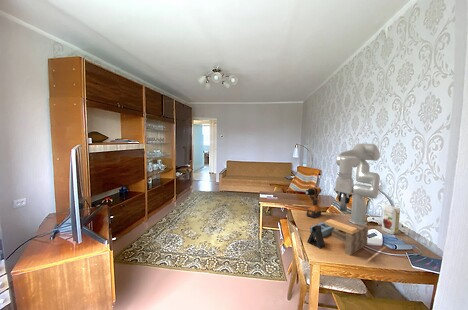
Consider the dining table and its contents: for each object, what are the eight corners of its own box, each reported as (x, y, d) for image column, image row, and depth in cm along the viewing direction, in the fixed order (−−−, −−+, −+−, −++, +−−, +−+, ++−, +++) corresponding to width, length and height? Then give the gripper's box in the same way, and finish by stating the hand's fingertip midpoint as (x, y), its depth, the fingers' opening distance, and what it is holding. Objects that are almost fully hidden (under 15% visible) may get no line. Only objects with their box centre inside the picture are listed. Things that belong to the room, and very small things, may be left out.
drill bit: (341, 209, 135) (342, 191, 134) (347, 210, 131) (348, 193, 130) (338, 210, 132) (339, 192, 131) (344, 212, 129) (345, 194, 128)
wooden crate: (339, 233, 140) (340, 216, 138) (367, 245, 125) (369, 225, 124) (320, 242, 126) (321, 223, 125) (350, 256, 112) (351, 235, 111)
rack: (322, 228, 148) (322, 221, 147) (334, 233, 140) (334, 226, 140) (309, 233, 139) (310, 226, 138) (321, 239, 131) (322, 232, 131)
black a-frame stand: (325, 245, 123) (326, 227, 122) (320, 248, 120) (321, 229, 119) (311, 239, 130) (312, 222, 129) (306, 242, 127) (307, 224, 126)
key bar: (330, 222, 127) (330, 219, 127) (356, 231, 114) (357, 228, 114) (325, 224, 124) (325, 221, 124) (351, 234, 111) (352, 231, 111)
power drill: (309, 220, 162) (311, 190, 160) (301, 217, 168) (303, 189, 166) (322, 214, 175) (324, 187, 173) (314, 212, 181) (316, 185, 179)
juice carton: (386, 228, 149) (388, 204, 148) (399, 233, 141) (401, 208, 140) (380, 230, 147) (382, 205, 145) (392, 235, 139) (394, 209, 137)
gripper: (330, 174, 134) (328, 200, 136) (356, 178, 121) (354, 207, 122) (335, 173, 139) (334, 198, 140) (361, 177, 125) (359, 204, 127)
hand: (343, 202), depth 131 cm, fingers closed on drill bit, 4 cm apart
